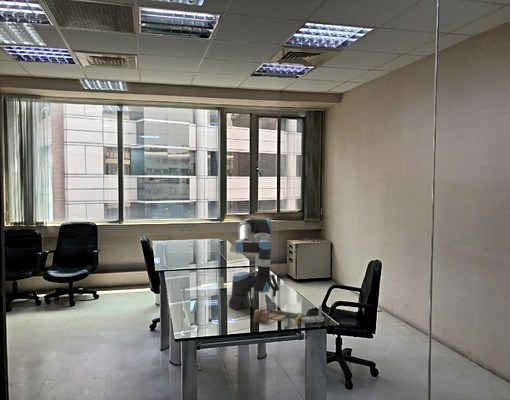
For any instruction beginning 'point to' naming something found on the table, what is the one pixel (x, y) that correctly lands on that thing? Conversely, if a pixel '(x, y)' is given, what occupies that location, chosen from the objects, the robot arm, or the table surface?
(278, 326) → the table surface
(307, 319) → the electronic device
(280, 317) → the deck
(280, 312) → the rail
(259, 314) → the clip block
